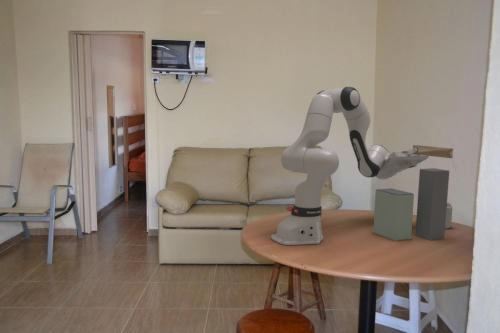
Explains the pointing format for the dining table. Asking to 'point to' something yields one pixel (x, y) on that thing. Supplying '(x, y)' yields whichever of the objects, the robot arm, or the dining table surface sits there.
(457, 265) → the dining table surface
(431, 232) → the pedestal
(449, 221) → the can
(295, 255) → the dining table surface
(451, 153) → the bar
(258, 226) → the dining table surface
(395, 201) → the grey block
